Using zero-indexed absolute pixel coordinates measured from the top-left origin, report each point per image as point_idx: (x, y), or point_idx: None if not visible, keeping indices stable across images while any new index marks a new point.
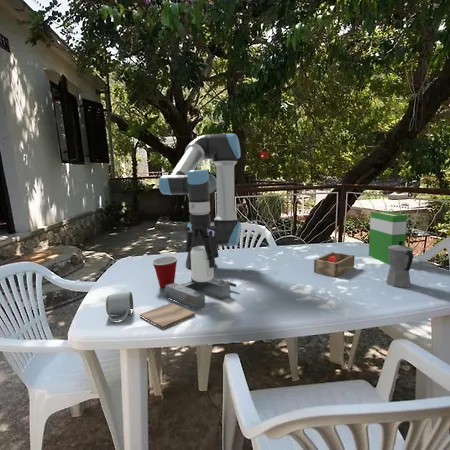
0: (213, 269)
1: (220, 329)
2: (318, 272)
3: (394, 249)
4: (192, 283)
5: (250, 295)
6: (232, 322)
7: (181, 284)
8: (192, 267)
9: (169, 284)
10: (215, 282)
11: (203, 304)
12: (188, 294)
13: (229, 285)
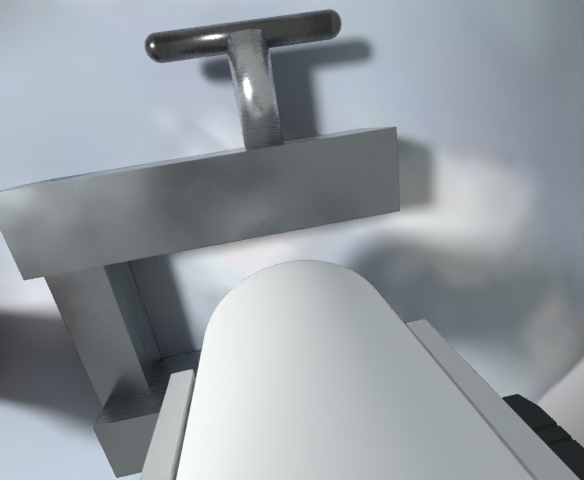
0: (459, 358)
1: (559, 359)
2: None
3: None
4: (101, 278)
5: (442, 5)
6: (563, 300)
7: (77, 344)
8: None
9: (117, 455)
10: (289, 198)
11: None
12: None
13: (391, 132)
